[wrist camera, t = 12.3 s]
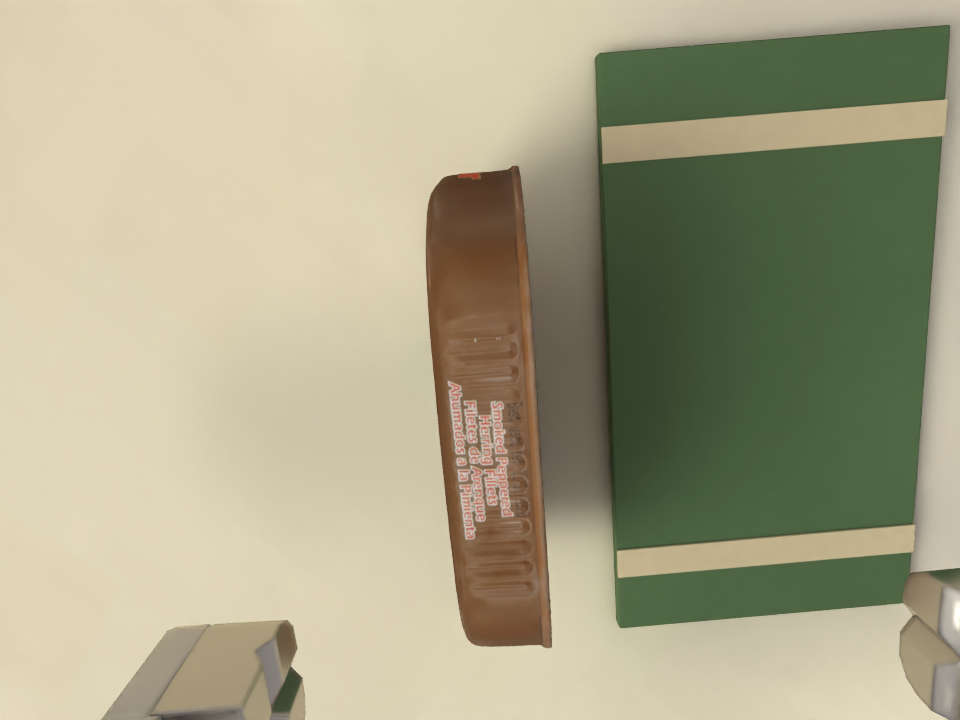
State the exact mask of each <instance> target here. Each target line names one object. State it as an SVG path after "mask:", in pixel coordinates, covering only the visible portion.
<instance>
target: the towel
mask: <svg viewBox="0 0 960 720" xmlns="http://www.w3.org/2000/svg"><path fill="white" fill-rule="evenodd" d="M949 37H950V26H949V25H943V26H931V27H918V28H906V29H893V30H881V31H868V32H856V33H844V34H831V35H819V36H806V37H794V38H781V39H769V40H756V41H744V42H732V43H719V44H707V45H694V46H682V47H669V48H657V49H644V50H632V51H620V52H607V53H599V54H598V55H597V56H596V58H595V68H596V94H597V120H598V147H599V173H600V199H601V226H602V252H603V278H604V305H605V331H606V357H607V384H608V410H609V436H610V463H611V489H612V515H613V542H614V568H615V594H616V620H617V622H618V625H619V627H620V628H629V627H640V626H651V625H662V624H674V623H685V622H696V621H707V620H719V619H730V618H741V617H752V616H764V615H775V614H786V613H797V612H809V611H820V610H831V609H842V608H854V607H865V606H876V605H887V604H899V603H903V591H904V583H905V582H906V580H907V578H908V576H909V573H910V560H911V552H914V541H915V528H916V525H915V524H913V519H914V506H915V493H916V479H917V466H918V452H919V439H920V426H921V412H922V399H923V385H924V372H925V358H926V345H927V332H928V318H929V305H930V291H931V278H932V265H933V251H934V238H935V224H936V211H937V198H938V184H939V171H940V157H941V144H942V136H945V131H946V118H947V104H948V99H945V90H946V77H947V63H948V50H949Z"/></svg>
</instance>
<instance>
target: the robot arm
mask: <svg viewBox="0 0 960 720" xmlns="http://www.w3.org/2000/svg"><path fill="white" fill-rule="evenodd" d="M903 603H904V604H905V605H906V607H907V608H908V609H909V611H910V612H911V613H912V615H913V616H912V617H911V619H910V620H909V621H908V622H907V624H906V625H905V626H904V627H903V629H902V630H901V631H900V649H899V655H900V658H901V662H902V665H903V668H904V671H905V675H906V678H907V679H908V681H909V683H910V684H911V686H912V688H913V689H914V691H915V693H916V694H917V695H918V696H919V698H920V699H921V700H922V701H923V702H924V703H925V704H926V705H927V706H928V708H929V709H930V710H931V711H933V712H935V713H937V714H939V715H941V716H943V717H945V718H947V719H949V720H960V568H955V569H945V570H934V571H924V572H913V573H910V574H909V576H908V578H907V580H906V582H905V583H904V591H903ZM296 651H297V644H296V639H295V634H294V629H293V626H292V625H291V624H290V623H289V621H288V620H280V621H263V622H245V623H227V624H214V625H209V624H207V625H195V626H183V627H176V628H174V629H171V630H169V631H167V632H166V634H165V635H164V636H163V638H162V639H161V640H160V642H159V643H158V644H157V646H156V647H155V648H154V650H153V651H152V652H151V654H150V655H149V656H148V658H147V659H146V660H145V662H144V663H143V664H142V666H141V667H140V668H139V670H138V671H137V672H136V674H135V675H134V676H133V678H132V679H131V680H130V682H129V683H128V684H127V686H126V687H125V688H124V690H123V691H122V693H121V694H120V695H119V697H118V698H117V699H116V701H115V702H114V703H113V705H112V706H111V707H110V709H109V710H108V711H107V713H106V714H105V715H104V717H103V718H102V719H101V720H305V693H304V686H303V679H302V677H301V676H300V675H299V674H298V673H297V672H296V671H295V670H294V669H293V668H292V667H291V663H292V661H293V658H294V656H295V653H296Z"/></svg>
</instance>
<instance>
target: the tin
mask: <svg viewBox="0 0 960 720" xmlns="http://www.w3.org/2000/svg"><path fill="white" fill-rule="evenodd" d="M524 211H525V210H524V204H523V193H522V187H521V176H520V172H519V167H518V166H512V167H511V168H510V169H508V170H502V171H493V172H481V173H467V174H458V175H452V176H447V177H444V178H443V179H442V180H441V181H440V182H439V183H438V185H437V186H436V187H435V188H434V190H433V192H432V193H431V196H430V200H429V204H428V211H427V228H426V274H427V294H428V310H429V325H430V338H431V349H432V359H433V371H434V380H435V391H436V404H437V414H438V424H439V436H440V445H441V455H442V465H443V475H444V485H445V495H446V504H447V512H448V521H449V531H450V540H451V548H452V556H453V565H454V573H455V583H456V591H457V597H458V604H459V610H460V616H461V621H462V626H463V629H464V631H465V634H466V637H467V638H468V640H469V641H470V642H471V643H472V644H474V645H478V646H490V647H494V646H523V645H542V646H543V647H545V648H551V647H552V637H551V634H552V632H551V629H552V627H551V609H550V595H549V574H548V561H547V542H546V530H545V509H544V497H543V480H542V467H541V448H540V433H539V419H538V400H537V386H536V373H535V353H534V335H533V319H532V302H531V290H530V278H529V267H528V251H527V242H526V227H525V216H524Z"/></svg>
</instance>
